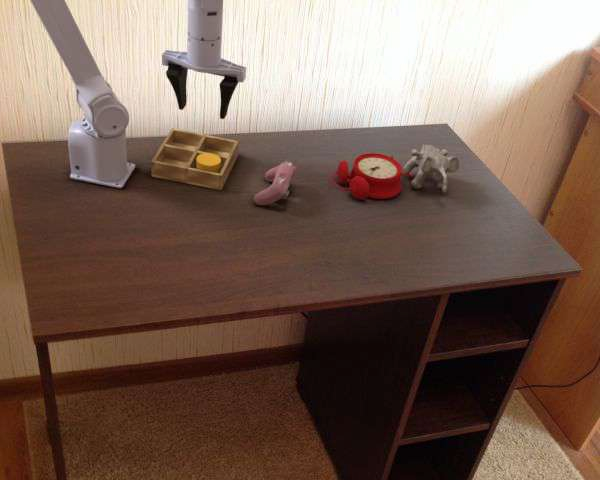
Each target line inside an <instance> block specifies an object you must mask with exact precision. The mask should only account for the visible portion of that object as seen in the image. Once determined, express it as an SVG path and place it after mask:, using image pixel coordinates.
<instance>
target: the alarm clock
mask: <svg viewBox="0 0 600 480" xmlns="http://www.w3.org/2000/svg"><path fill="white" fill-rule="evenodd" d="M335 176H337V180H338V182H339V183H340V184H341V185H346V184H348V187H342V186H341V185H338V184H337V183H336V182H335V181H334V179H333V177H335ZM402 176H403V177H411V178H413V177H414V174H408V175H407V174H403V167H402V165H401V164H400V162H399V161H397V160H396V159H395V158H394V155H391V156H388V155H386V154H381V153H377V152H369V153H363V154H360V155H358V156H357V157H355V159H354V161H353V163H352V169H351V171H350V172H349V163H348V161H347V160H341V161H340V162H339V164H338V165H337V170H335V171H334V174H332V175H331V176H330V181H331V182H332V184H333V185H335V186H336V187H337V188H338V189H341V190H345V191H347V190H349V192H350V194H351V196H352V197H354V198H355V199H356V200H359V201H362V200H365V199H367V198H370V199H377V200H386V199H392V198H394V197H396V196H398V195H399V194H400V193H401V191H402V188H403V184H402V180H401V178H402Z"/></svg>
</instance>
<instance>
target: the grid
mask: <svg viewBox="0 0 600 480" xmlns="http://www.w3.org/2000/svg"><path fill="white" fill-rule="evenodd" d="M239 143H240V142H239V140H235V139H230V138H224V137H219V136H215V135H214V136H213V135H209V134H205V133H199V132H195V131H194V132H193V131H189V130H185V129H179V128H174V127H171V129H170V130H169V132H168V133H167V135H166V136H165V139H164V140H163V142H162V143H161V145H160V146H159V148H158V149H157V151H156V153H155V155H154V156H153V158H152V160H151V161H150V168H151V169H150V171H151V177H153V178H158V179H162V180H167V181H173V182H176V183H177V182H178V183H183V184H188V185H192V186H198V187H203V188H208V189H212V190H217V191H222V190H223V188H224V186H225V184H226V182H227V179H228V178H229V175H230V173H231V171H232V169H233V167H234V164H235V162H236V160H237V158H238V156H239ZM202 153H212V154H215V155H217V156H219V157H220V159H221V171H220V174H219V173H214V172H209V171H204V170H199V169H196V158H197V156H198V155H200V154H202Z"/></svg>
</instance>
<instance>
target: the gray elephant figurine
mask: <svg viewBox="0 0 600 480" xmlns="http://www.w3.org/2000/svg"><path fill="white" fill-rule="evenodd" d="M448 154H449V151H448V150H447V149H445V148H443V149H441V150H440V149H439V148H437V147H436V146H434V145H433V144H422V146H421V148H420V150H419V151H418V149H416V148H413V149H412V150H411V151H410V155H411V158H410V159H409V160H408V161H407V162H406V164H405V165H404V166H403V167H402V174H407V175H410V173H412V171H413V170H414V169H415V168H417V169H418V171H417V173H416V175H415V177H414V178H413V179H412V180H411V182H410V186H411V187H412V188H414V189H417V190H418V189H422V185H423V183H424V182H425V180H426V179H427V178H428V177H430V178H431V179H432V180H434V181H436V188H437V189H441V191H442V193H443V194H445V193H446V192H447V189H448V173H456V172H457V171H458V170H459V169H460V161H459V159H458V157H456V156H447V155H448Z"/></svg>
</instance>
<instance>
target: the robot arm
mask: <svg viewBox="0 0 600 480" xmlns="http://www.w3.org/2000/svg"><path fill="white" fill-rule="evenodd" d="M29 2H30V4H31V6H32V7H33V9H34V11H35V13H36V14H37V17H38V18H39V20H40V23H41V24H42V26H43V28H44V30H45V32H46V33H47V35H48V37H49V39H50V41H51V43H52V44H53V47H54V48H55V50H56V52H57V54H58V56H59V58H60V60H61V61H62V63H63V65H64V67H65V69H66V70H67V72H68V74H69V76H70V78H71V81H72V83H73V85H74V88H75V98H76V102H77V104H78V106H79V108H80V109H81V110H82V111H83V117H82V120H74V121H73V122H72V123H71V125H70V127H69V130H68V134H67V135H68V136H67V146H68V147H67V148H68V155H69V161H70V162H69V163H70V164H69V165H70V174H69V178H70V179H72V180H76V181H81V182H86V183H91V184H96V185H102V186H105V187H106V186H107V187H110V188H111V187H112V188H117V189H122V188H123V187H124V186H125V184H126V183H127V181H128V180H129V178H130V177H131V175H132V174H133V172H134V170H135V169H136V164H135V163H131V162H128V149H127V133H126V129H127V128H128V125H129V122H130V114H129V111H128V109H127V108H126V106H125V104H123V103H122V102H121V100H120V98H118V96H117V95H116V93H115V92H114V91H113V88H112V86H111V85H110V83H109V82H108V81H107V80H106V79H105V78H104V76H103V74H102V72H101V70H100V68H99V66H98V64H97V63H96V60H95V59H94V56H93V53H92V52H91V50H90V48H89V46H88V44H87V42H86V40H85V38H84V36H83V34H82V32H81V30H80V28H79V26H78V24H77V22H76V19H75V18H74V16H73V14H72V12H71V10H70V8H69V6H68V4H67V2H66V0H29ZM223 17H224V0H187V35H186V37H187V38H186V39H187V40H186V41H187V44H186V46H187V50H186V51H178V50H171V49H170V50H169V49H165V50H164V51H162V53H161V65H162V66H165V67H167V70H166V71H165V75H166V78H167V80H168V81H169V83H170V86H171V87H172V89H173V92H174V95H175V98H176V102H177V106H178V109H179V110H180V111H183V110H184V109H185V108H186V107H187V102H188V101H187V100H188V99H187V97H188V96H187V81H188V71H189V70H192V71H194V72H197V73H200V74H201V73H202V74H209V75H213V76H214V75H215V76H219V77H223V79H222V80H221V82H219V92H220V107H219V119H221V120H225V118H226V117H227V115H228V112H229V111H228V110H229V107H230V102H231V100H232V97H233V94H234V93H235V90H236V88H237V87H238V84H239V83H242V84H243V83H244V81H245V80H246V78H247V67H246V66H243V65H240V64H236V63H234V62H232V61H229V60H227V59H224V58H222V43H223V42H222V41H223V19H224V18H223Z"/></svg>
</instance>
